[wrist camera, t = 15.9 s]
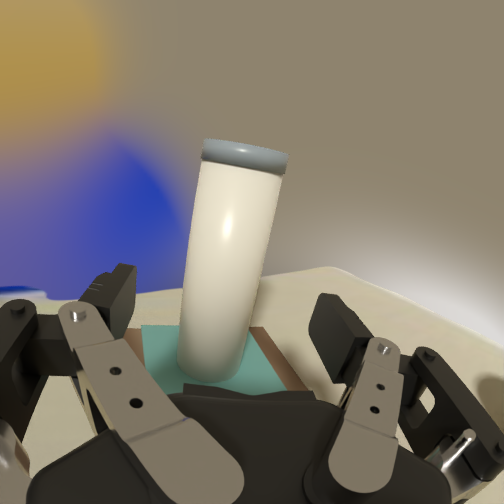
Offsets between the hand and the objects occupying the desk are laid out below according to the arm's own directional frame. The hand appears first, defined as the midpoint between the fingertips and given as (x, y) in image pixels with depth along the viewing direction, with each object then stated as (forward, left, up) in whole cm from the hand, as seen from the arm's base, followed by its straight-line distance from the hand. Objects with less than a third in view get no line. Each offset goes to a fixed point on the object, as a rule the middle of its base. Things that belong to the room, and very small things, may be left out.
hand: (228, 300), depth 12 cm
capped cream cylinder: (+2, +7, -10) cm, 12 cm away
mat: (+2, +7, -10) cm, 12 cm away
